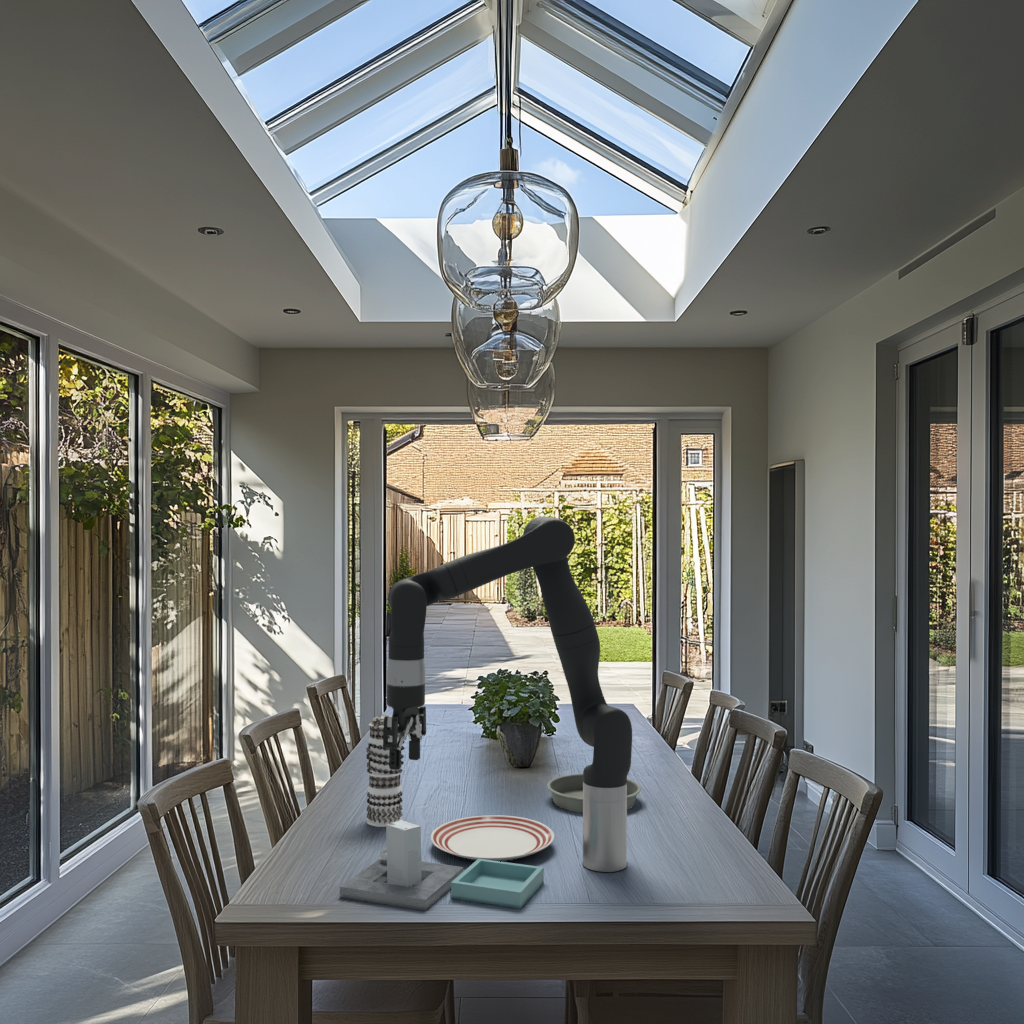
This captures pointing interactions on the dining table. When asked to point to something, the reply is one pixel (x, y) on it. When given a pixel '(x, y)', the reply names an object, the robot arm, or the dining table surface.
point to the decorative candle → (382, 780)
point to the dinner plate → (492, 837)
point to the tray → (497, 883)
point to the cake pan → (581, 792)
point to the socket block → (421, 897)
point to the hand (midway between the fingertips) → (405, 764)
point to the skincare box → (403, 854)
